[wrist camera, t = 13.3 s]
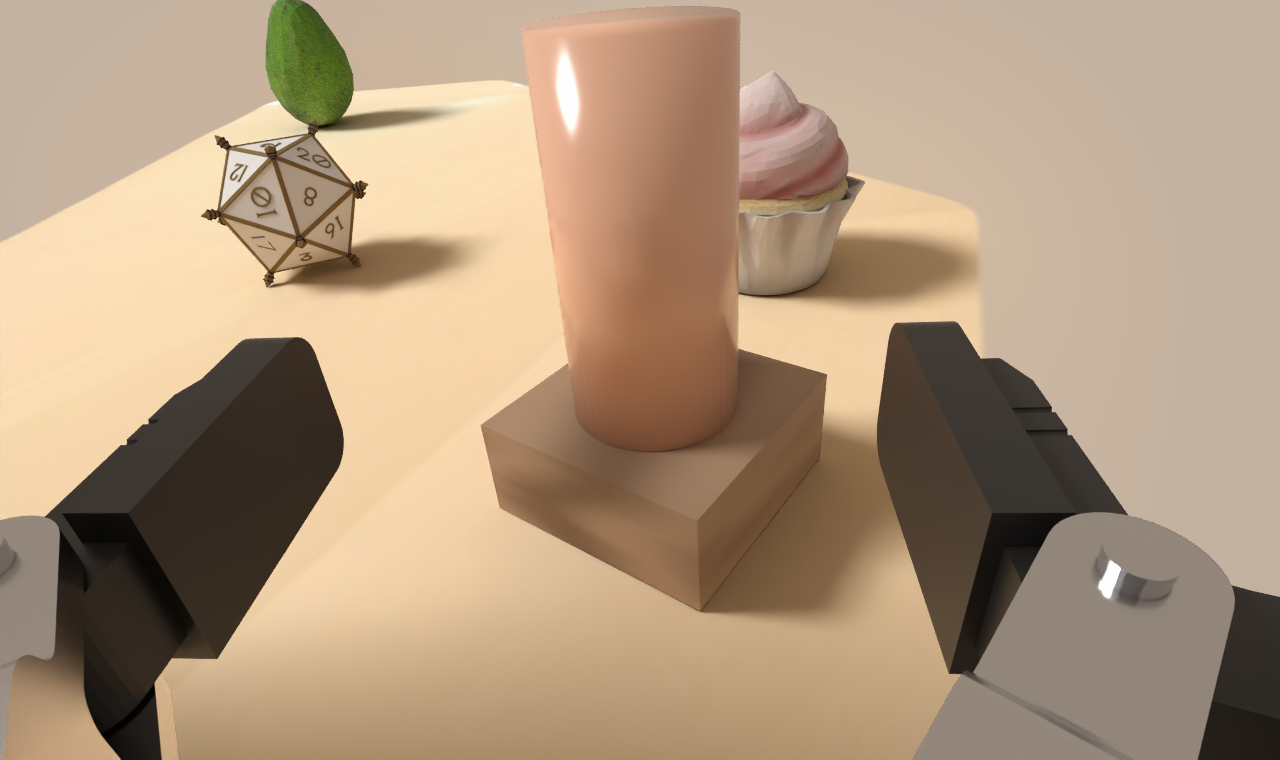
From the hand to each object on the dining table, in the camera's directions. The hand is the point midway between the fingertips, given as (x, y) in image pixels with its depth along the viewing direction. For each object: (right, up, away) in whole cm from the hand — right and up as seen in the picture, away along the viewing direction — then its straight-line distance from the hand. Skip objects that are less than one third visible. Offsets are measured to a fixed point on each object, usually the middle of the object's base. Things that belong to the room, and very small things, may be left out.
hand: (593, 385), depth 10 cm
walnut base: (+1, -3, +15) cm, 15 cm away
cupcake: (+7, +6, +29) cm, 30 cm away
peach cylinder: (+1, -1, +13) cm, 13 cm away
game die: (-19, +7, +34) cm, 39 cm away
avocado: (-32, +27, +66) cm, 78 cm away
